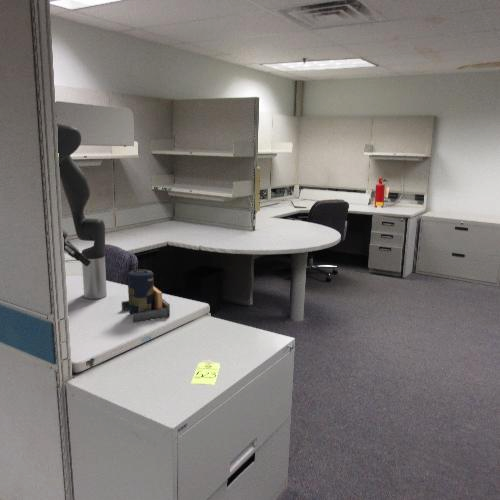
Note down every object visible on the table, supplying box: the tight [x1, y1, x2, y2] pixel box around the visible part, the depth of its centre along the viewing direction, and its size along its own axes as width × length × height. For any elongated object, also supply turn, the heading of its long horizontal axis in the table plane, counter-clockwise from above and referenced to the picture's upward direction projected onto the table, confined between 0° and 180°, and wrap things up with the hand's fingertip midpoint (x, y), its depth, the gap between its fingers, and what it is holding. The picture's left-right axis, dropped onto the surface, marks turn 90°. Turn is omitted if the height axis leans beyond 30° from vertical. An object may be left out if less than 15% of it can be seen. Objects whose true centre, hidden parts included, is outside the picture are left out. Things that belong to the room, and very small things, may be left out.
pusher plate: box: [154, 286, 163, 309], centre depth 186 cm, size 12×2×9 cm, turn 31°
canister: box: [127, 268, 155, 316], centre depth 183 cm, size 10×10×18 cm
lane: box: [121, 297, 171, 324], centre depth 185 cm, size 15×14×5 cm
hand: (88, 263), depth 170 cm, fingers closed
